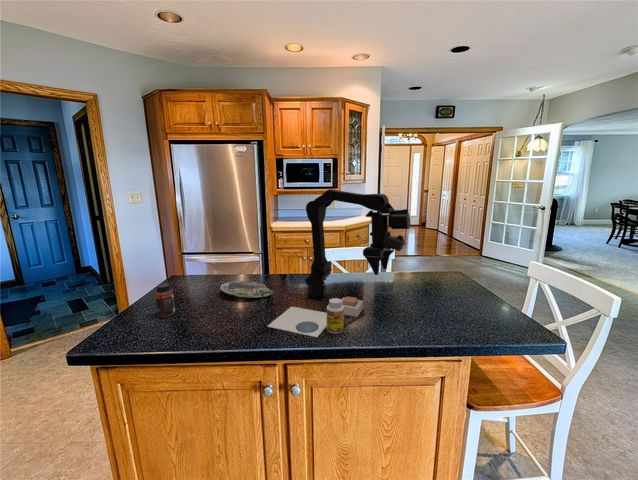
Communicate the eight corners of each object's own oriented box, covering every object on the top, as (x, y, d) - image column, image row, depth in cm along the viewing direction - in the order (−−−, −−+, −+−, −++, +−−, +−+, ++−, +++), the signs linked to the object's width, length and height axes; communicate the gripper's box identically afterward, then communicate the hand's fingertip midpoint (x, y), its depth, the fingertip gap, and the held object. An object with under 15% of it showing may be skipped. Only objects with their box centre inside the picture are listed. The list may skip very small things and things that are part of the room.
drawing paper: (267, 326, 100) (267, 325, 100) (291, 307, 115) (291, 306, 115) (317, 337, 93) (317, 336, 93) (335, 315, 108) (335, 314, 108)
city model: (285, 300, 127) (286, 286, 126) (230, 307, 113) (231, 291, 113) (261, 285, 147) (262, 272, 147) (212, 289, 134) (213, 275, 133)
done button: (342, 306, 110) (342, 300, 110) (346, 302, 114) (346, 296, 114) (353, 308, 109) (353, 302, 108) (357, 304, 112) (357, 298, 112)
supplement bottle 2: (324, 333, 96) (324, 302, 94) (329, 325, 101) (329, 296, 99) (341, 335, 94) (341, 304, 92) (345, 327, 99) (345, 298, 97)
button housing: (336, 313, 110) (336, 305, 109) (343, 304, 117) (343, 297, 116) (357, 316, 107) (357, 309, 106) (363, 308, 114) (363, 300, 113)
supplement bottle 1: (179, 312, 110) (176, 283, 108) (166, 319, 105) (162, 288, 103) (166, 310, 112) (163, 281, 110) (153, 317, 107) (149, 286, 105)
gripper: (394, 232, 96) (395, 279, 98) (409, 226, 112) (409, 268, 114) (361, 231, 101) (363, 277, 103) (380, 227, 117) (381, 266, 119)
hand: (380, 271), depth 110 cm, fingers open, 9 cm apart
